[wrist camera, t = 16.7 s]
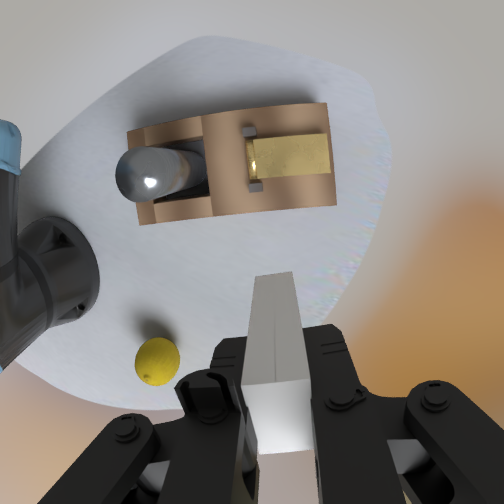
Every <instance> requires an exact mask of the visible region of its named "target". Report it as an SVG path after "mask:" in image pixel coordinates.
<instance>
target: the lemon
mask: <svg viewBox="0 0 504 504" xmlns="http://www.w3.org/2000/svg"><path fill="white" fill-rule="evenodd" d="M179 365H180V355H179V351H178V349H177V347H176V346H175V345H174V344H173V343H172V342H171V341H169V340H168V339H165V338H160V337H157V338H152V339H150V340H148V341H146V342H145V343H144V344H143V345H142V346H141V347H140V348H139V350H138V352H137V354H136V358H135V370H136V373H137V375H138V376H139V378H140V379H141V380H142V381H143V382H145V383H147V384H149V385H152V386H160V385H164V384H166V383H167V382H169V381H170V380H171V379H172V378H173V377H174V376H175V374H176V373H177V370H178V368H179Z"/></svg>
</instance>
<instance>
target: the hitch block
mask: <svg viewBox="0 0 504 504" xmlns="http://www.w3.org/2000/svg"><path fill="white" fill-rule="evenodd" d="M325 133H327V141H328V150H329V160H330V171H331V173H322V174H307V175H294V176H282V177H271V178H260V179H249V170H248V161H247V152H246V144H245V141H248V140H256V139H264V138H274V137H284V136H296V135H309V134H325ZM127 139H128V149H129V150H130V149H132V148H134V147H139V146H144V147H155V148H161V147H166V146H171V145H176V144H182V143H187V142H193V141H199V140H203V141H204V150H205V158H206V167H207V175H208V183H209V190H210V193H209V194H201V195H193V196H186V197H179V198H172V199H167V198H166V195H165V196H162V197H159V198H156V199H153V200H150V201H147V202H141V203H139V202H136V207H137V213H138V219H139V225H148V224H155V223H163V222H171V221H179V220H187V219H196V218H205V217H213V216H223V215H232V214H242V213H252V212H262V211H273V210H284V209H295V208H307V207H320V206H333V205H337V201H336V186H335V174H334V163H333V152H332V143H331V134H330V125H329V117H328V109H327V103H306V104H290V105H278V106H267V107H258V108H249V109H241V110H234V111H227V112H220V113H213V114H207V115H202V116H196V117H190V118H185V119H180V120H175V121H170V122H166V123H161V124H157V125H152V126H148V127H144V128H140V129H136V130H132V131H128V132H127Z"/></svg>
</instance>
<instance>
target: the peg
mask: <svg viewBox="0 0 504 504" xmlns="http://www.w3.org/2000/svg"><path fill="white" fill-rule="evenodd" d="M206 172H207V167H206V162H205V160H204V159H203V157H202V156H201V155H199V154H198V153H196V152H191V151H183V150H174V149H165V148H155V147H144V146H139V147H134V148H132V149H130V150H128V151H127V152H126V153H124V154H123V156H122V157H121V158H120V160H119V162H118V164H117V167H116V174H115V177H116V183H117V186H118V188H119V190H120V192H121V193H122V195H123V196H124V197H126V198H127V199H129V200H130V201H133V202H139V203H141V202H147V201H150V200H153V199H156V198H159V197H162V196H165V195H168V194H171V193H174V192H178V191H181V190H184V189H187V188H190V187H194V186H196V185H198V184H200V183H201V182H202V181H203V179H204V178H205V175H206Z"/></svg>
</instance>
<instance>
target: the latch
mask: <svg viewBox="0 0 504 504" xmlns="http://www.w3.org/2000/svg"><path fill="white" fill-rule="evenodd" d="M245 144H246V152H247V161H248V170H249V179H260V178H271V177H282V176H294V175H307V174H322V173H331V171H330V160H329V150H328V141H327V133H325V134H309V135H296V136H284V137H274V138H264V139H256V140H248V141H245Z"/></svg>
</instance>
